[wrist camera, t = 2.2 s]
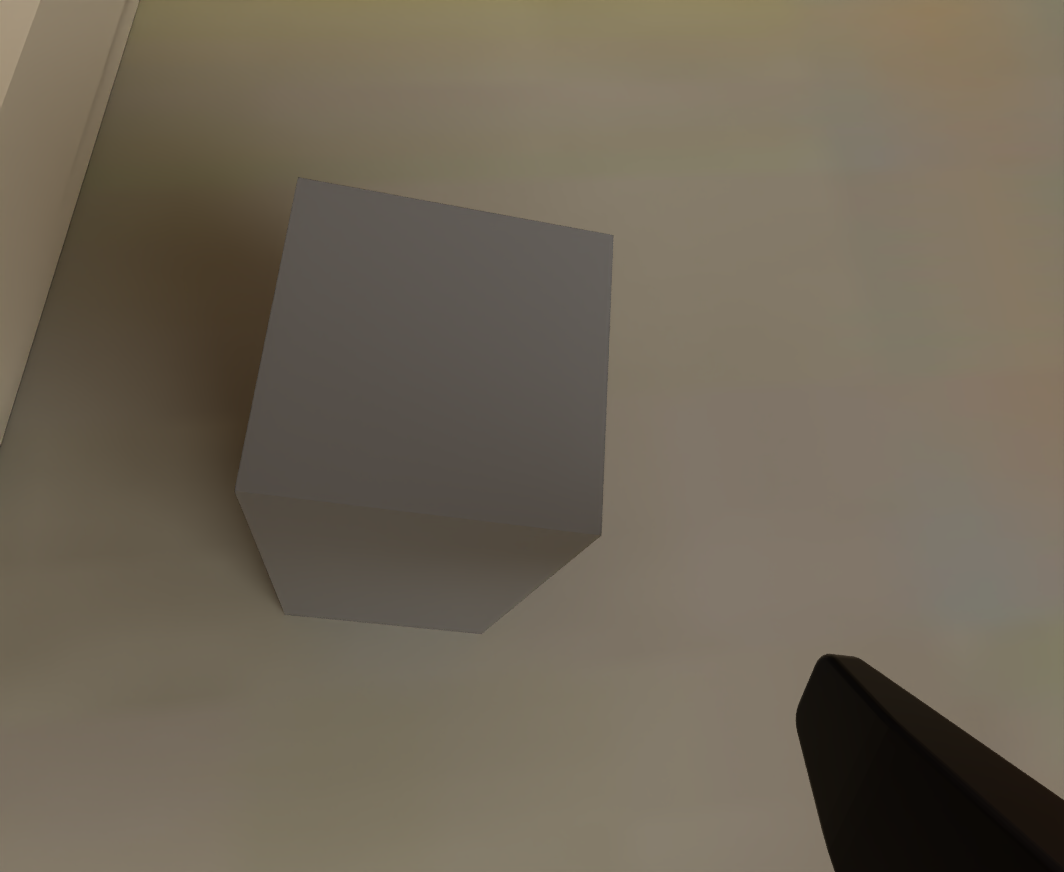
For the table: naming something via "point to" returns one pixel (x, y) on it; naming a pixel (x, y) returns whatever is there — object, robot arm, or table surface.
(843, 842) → the robot arm
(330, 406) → the plug
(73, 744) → the table surface
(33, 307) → the box
